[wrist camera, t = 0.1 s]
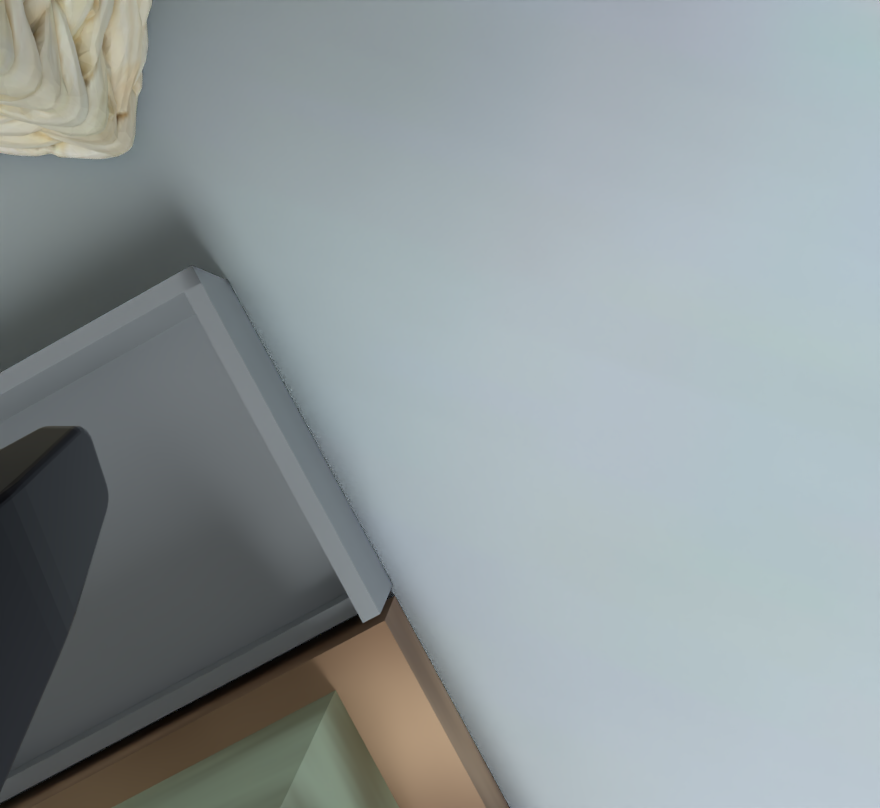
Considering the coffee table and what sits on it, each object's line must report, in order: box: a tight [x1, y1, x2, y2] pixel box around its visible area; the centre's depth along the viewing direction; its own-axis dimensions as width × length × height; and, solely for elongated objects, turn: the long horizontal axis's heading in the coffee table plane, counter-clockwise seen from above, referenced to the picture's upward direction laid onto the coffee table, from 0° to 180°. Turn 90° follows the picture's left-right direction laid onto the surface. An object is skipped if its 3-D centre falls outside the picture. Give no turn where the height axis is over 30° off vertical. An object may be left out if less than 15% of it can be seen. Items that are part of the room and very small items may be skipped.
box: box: [0, 265, 393, 803], centre depth 22 cm, size 10×14×3 cm
